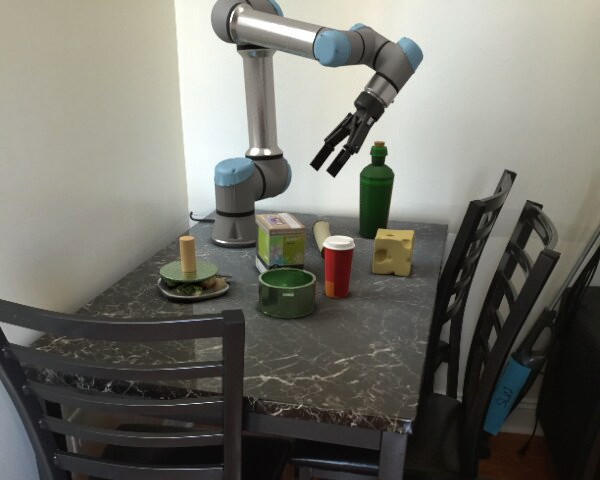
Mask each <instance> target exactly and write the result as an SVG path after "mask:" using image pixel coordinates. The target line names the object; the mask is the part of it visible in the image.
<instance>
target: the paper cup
mask: <svg viewBox="0 0 600 480" xmlns="http://www.w3.org/2000/svg"><path fill="white" fill-rule="evenodd" d="M323 245H324V246H325V260H324V283H325V295H326V297H328V298H332V299H343V298H347V296H348V295H349V288H350V283H351V282H350V281H351V273H352V266H353V258H354V249H355V247H356V244H355V241H354V239H353V238H352V237H350V236H346V235H331V236H330V237H328V238H326V240H325V242H324V243H323Z"/></svg>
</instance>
